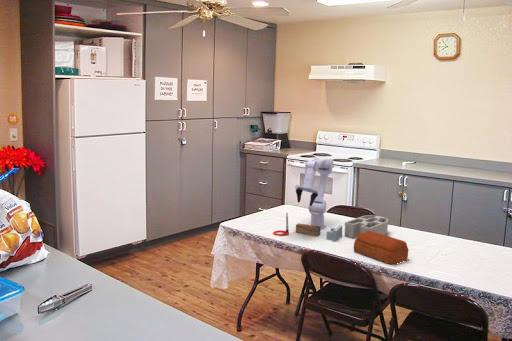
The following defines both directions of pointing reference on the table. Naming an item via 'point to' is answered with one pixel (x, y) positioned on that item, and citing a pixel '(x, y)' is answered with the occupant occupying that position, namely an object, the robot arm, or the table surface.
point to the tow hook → (283, 231)
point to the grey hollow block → (366, 225)
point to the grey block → (334, 233)
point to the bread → (381, 247)
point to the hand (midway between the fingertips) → (304, 203)
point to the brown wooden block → (308, 229)
